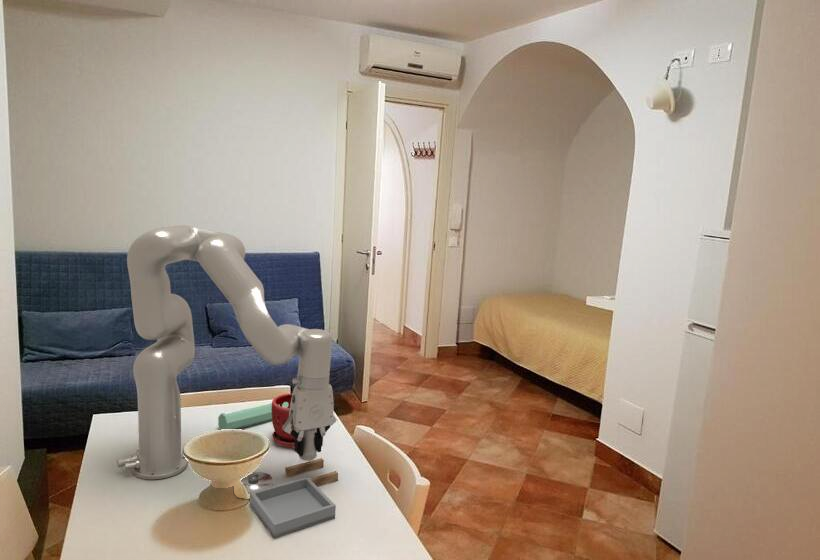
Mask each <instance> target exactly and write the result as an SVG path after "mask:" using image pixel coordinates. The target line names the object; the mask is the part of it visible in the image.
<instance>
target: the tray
mask: <svg viewBox="0 0 820 560" xmlns="http://www.w3.org/2000/svg"><path fill="white" fill-rule="evenodd" d="M250 505H251V506H250ZM249 506H250V507H251V509H252V510H253V512H254V511H255V512H254V513H255V514H256V516H257V515H258V516H257V517H258V519H259V520H260V521H261V522H262V524H263V525H264V527H265V528H266V529H267V531H268V532H269V534H270V535H271V536H272V538H273V539H276V538H280V537H283V536H286V535H289V534H292V533H295V532H298V531H301V530H304V529H306V528H307V529H308V528H310V527H313V526H315V525H318V524H322V523H324V522H328V521H330V520H331V521H332V520H333V519H336V504H335V503H334V502H333V501H332V500H331V499H330V498H329V497H328V496H327V495H326V494H325V493H324V492H323V491H322V490H321V489H320V488H319V486H318V487H317V486H316V485H315V484H314V483H313V482H312V481H311V480H310V479H309V477H308V476H306V477H301V478H299V479H295V480H291V481H288V482H284V483H281V484H278V485H273V487H269V488H266V489H262V490H258V491H255V492H251V493H250V500H249Z"/></svg>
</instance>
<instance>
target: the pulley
mask: <svg viewBox="0 0 820 560" xmlns="http://www.w3.org/2000/svg"><path fill="white" fill-rule="evenodd" d="M252 472H253V473H252V474H250V475H248V476H247V477H245V478H243V479H242V480H241V482H242V483H243V485H244V486H245V488H246V490H247V492H248V494H250V493H251V492H255V491H258V490H262V489H266V488H269V487H273V486H274V478H273V476H272V475H271V474H269V473H267V472H264V471H252Z"/></svg>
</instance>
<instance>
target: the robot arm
mask: <svg viewBox="0 0 820 560" xmlns="http://www.w3.org/2000/svg"><path fill="white" fill-rule="evenodd" d="M245 256H246V248H245V245H244V243H243V242H242V240H240V238H238V237H237V236H235V235H233V234H230V233H229V234H228V233H225V232H219V231H214V230H210V229H205V228H201V227H200V228H199V227H195V226H191V225H183V224H182V225H180V224H179V225H173V226H164V227H162V226H161V227H157V228H154V229H153V228H152V229H151V230H147V231H146V232H144V233H142V234H141V235H139V236H138V237H137V238H136V239H134V240H133V242H132V243H131V244H130V246H129V248H128V250H127V256H126V265H127V271H128V276H129V283H130V294H131V303H132V304H131V306H132V313H133V314H132V315H133V321H134V327H135V330H136V332H137V334H138V336H140V337H141V338H143V339H145V340H147V341H148V340H149V341H156V342H154V343H153V344H151V345H148V346H147V347H146V348H144V349H143V350H142V351H140V353H139V354H137V356H136V358H135V360H134V362H133V368H132V369H133V377H134V381H135V382H134V383H135V385H136V386H135V387H136V392H137V393H136V394H137V413H138V414H137V415H138V416H137V417H138V418H137V419H138V421H137V423H138V424H137V425H138V449H136V450H135V454H131V456H128V457H122V458H117V460H116V463H117V467H118V468H121V467H124V469H125V470H129V469H131V470H132V471H131V472H132V475H134V476H135V477H136V478H139V479H143V480H162V479H167V478H170V477H173V476H177V475H178V474H180V473H181V472H183V471H184V470H185V469H186V468H187V467H188V461H189V460H188V461H187V460H186V459H185V457H184V456H183V454H184V453H182V417H181V416H182V409H181V408H182V406H181V405H182V404H181V398H182V397H181V392H180V388H179V387H180V386H179V385H178V380H177V379H178V376H179V375H180V373H182V372H183V371H185V370H186V369H187V368H188V367H189V366H190V365H191V364H192V363H193V361H194V358H195V353H196V348H195V347H196V346H195V336H194V335H195V334H194V326H193V325H194V324H193V316H192V315H193V314H192V310H191V308H190V305H189V304H188V302H187V301H186V299H184V298H183V297H182V296H180V295H178V294H176V293H171V292H172V291H171V290H172V289H171V281H170V277H169V275H168V273H167V269H166V266H167V265H169V264H174V263H178V262H181V261H185V260H188V261H193V262H198V263H199V265H200V266H201V268H203V270H204V272H205V273H206V274H207V275H208V276H209V278H210V279H211V280H212V282H213V283H214V284H215V285H216V287H217V288H218V289H219V290H220V292H221V293H222V295H223V296H224V297H225V298H226V300H227V301H228V302H229V304H230V305H231V306H232V308H233V312H234V314H235V318H236V320H237V323H238V326H239V327H240V329H241V332H242V333H243V335H244V337H245V338H246V340H247V341H248V343H249V344H250V345H251V346H252V348H253V349H254V350H255V351H256V353H257V354H258V355H259V357H261V358H262V359H263V361H265V362H267V364H270V365H273V366H281V365H285V364H287V363H288V362H289V361H290V360H292V358H294V356H298V366H297V367H298V368H297V369H298V370H297V374H296V377H295V378H292V384H293V385H294V387H293V391H292V393H293V394H292V398H291V403H290V411H289V418H288V419H287V421H286V422H285V424H284V425H283V427H282V429H283V430H284V431H285V432H287V433H289V434H291V435H292V436H293V437H294V438H295V443H294V447H293V450H294V452H295V453H296V454H297V455H298V457H299V456H303V451H304V440H303V439H302V438H303V434H304V430H310V429H316V432H315V433H314V435H315V437H314V446H315V448H316V450H317V453H321V452H322V447H323V443H324V437H325V435H326V433H327V432H328V430H329V429H330V428H331V427H332V426H333V425H334V424H335V423H336V422H337V420H338V419H337V418H336V416H335V415H334V411H335V410H334V408H335V407H334V404H335V403H334V392H333V387H332V385H331V384H330V372H331V360H332V349H333V348H332V347H333V336H332V334H331V333H330V332H329V331H328V330H325V329H320V328H319V329H318V328H311V329H309V328H306V327H302V326H298V325H295V324H290V323H287V324H285V323H284V324H281V325H279V326H278V325H277V324H276V323H275V320H273V318H272V317H271V315H270V313H269V311H268V308H267V307H266V303H265V302H266V301H265V289H264V285H263V283H262V281H261V280H260V279H259V278H258V277H257V275H256V274H255V273H254V271H253V270H252V269H251V267H250V266H249V265H248V263H247V262H246V261H245ZM292 425H293V426H294V428H295V429H293V428H291V426H292Z"/></svg>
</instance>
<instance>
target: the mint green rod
mask: <svg viewBox="0 0 820 560" xmlns="http://www.w3.org/2000/svg"><path fill="white" fill-rule="evenodd" d="M288 405H289V404H288V402H284V403H283V404H282V407H284V408H287V407H288ZM279 406H280V404H279ZM271 409H272V402H270V403H267V404H263V405H259V406H255V407H251V408H246V409H242V410H237V411H234V412H230V413H225V412H223V413H220V414H219V415H218V417H217V419H218V423H217V426H218V428H219V431H220V430H221V429H236V430H240V429H243V428H248V427H251V426H252V427H253V426H256V425H258V424H262V423H266V422H269V421H272V413H271Z"/></svg>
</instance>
